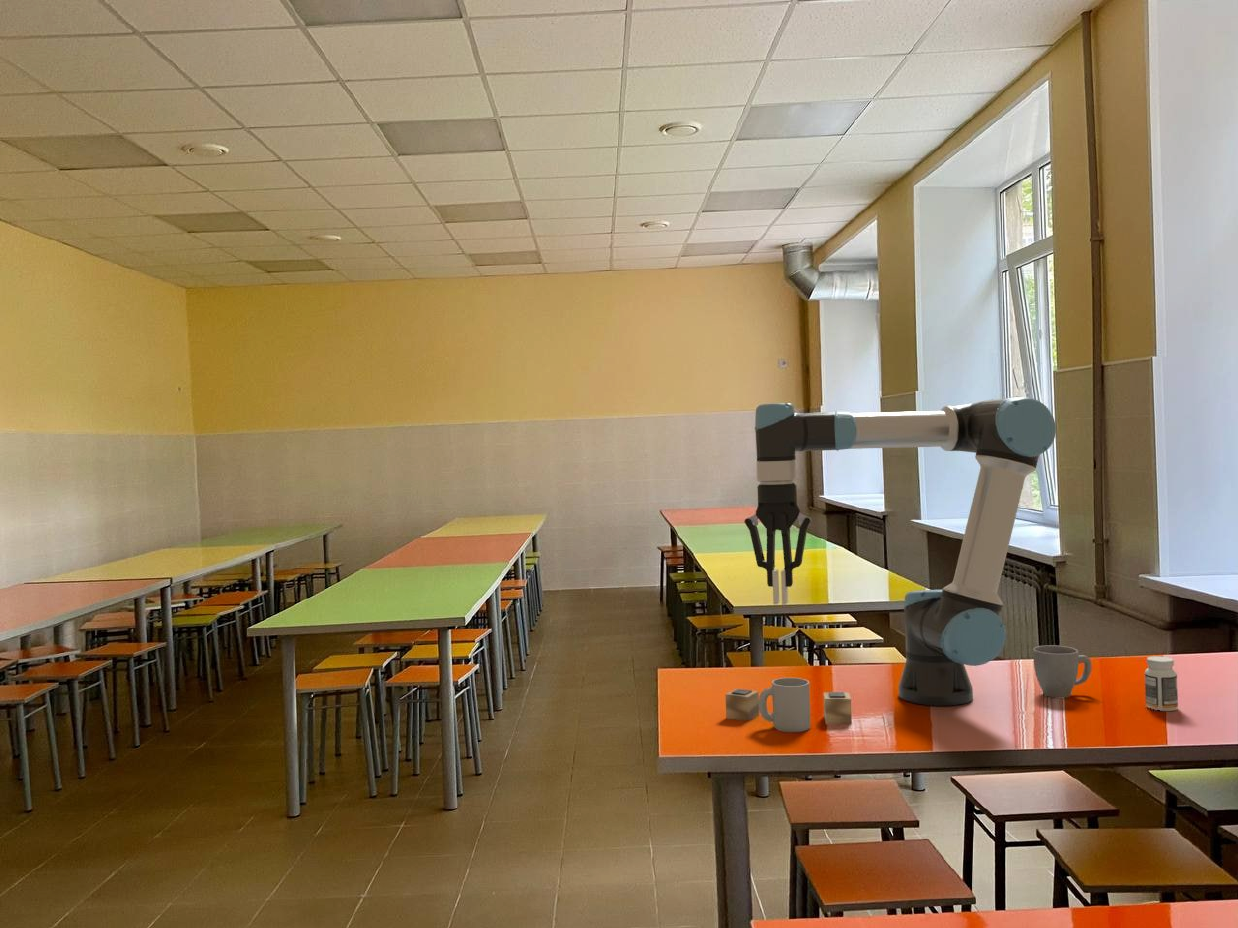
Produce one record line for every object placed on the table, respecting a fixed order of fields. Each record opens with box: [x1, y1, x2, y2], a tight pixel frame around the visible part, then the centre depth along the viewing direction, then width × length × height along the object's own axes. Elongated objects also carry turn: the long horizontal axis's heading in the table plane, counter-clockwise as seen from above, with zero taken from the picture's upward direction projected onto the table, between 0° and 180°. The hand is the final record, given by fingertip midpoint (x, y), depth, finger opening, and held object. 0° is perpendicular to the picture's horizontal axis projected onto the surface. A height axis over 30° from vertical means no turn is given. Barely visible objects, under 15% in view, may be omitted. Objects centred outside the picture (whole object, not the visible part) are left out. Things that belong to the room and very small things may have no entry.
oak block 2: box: [823, 691, 853, 725], centre depth 197 cm, size 5×5×5 cm
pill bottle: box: [1144, 655, 1179, 712], centre depth 197 cm, size 6×6×10 cm
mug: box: [1032, 644, 1093, 699], centre depth 210 cm, size 12×9×10 cm
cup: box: [758, 677, 811, 733], centre depth 193 cm, size 7×10×9 cm
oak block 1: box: [725, 688, 760, 722], centre depth 202 cm, size 5×5×5 cm
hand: (780, 603), depth 193 cm, fingers closed
